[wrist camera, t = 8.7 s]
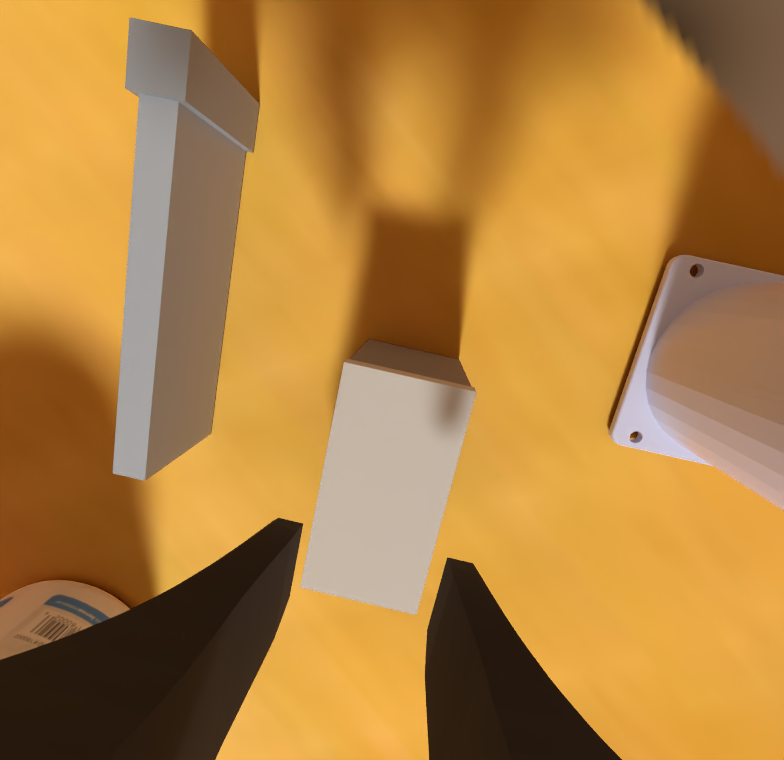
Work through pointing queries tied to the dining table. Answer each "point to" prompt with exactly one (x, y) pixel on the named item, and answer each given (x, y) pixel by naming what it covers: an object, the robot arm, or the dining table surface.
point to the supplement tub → (51, 613)
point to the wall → (177, 242)
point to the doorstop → (387, 474)
